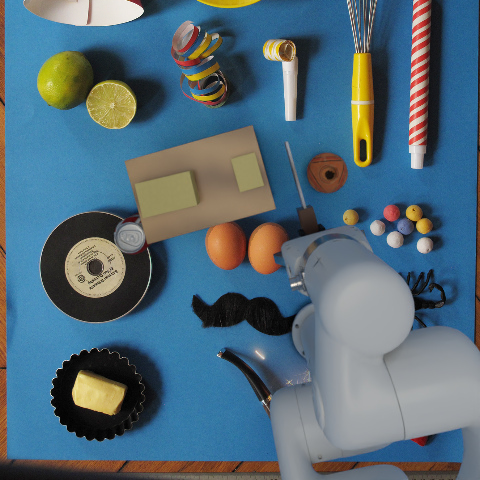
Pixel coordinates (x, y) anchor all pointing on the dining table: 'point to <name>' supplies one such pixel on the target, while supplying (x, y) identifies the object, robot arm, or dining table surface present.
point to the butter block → (167, 194)
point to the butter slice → (247, 172)
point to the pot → (327, 172)
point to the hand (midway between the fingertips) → (312, 236)
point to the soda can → (131, 235)
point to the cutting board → (203, 183)
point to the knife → (303, 202)
